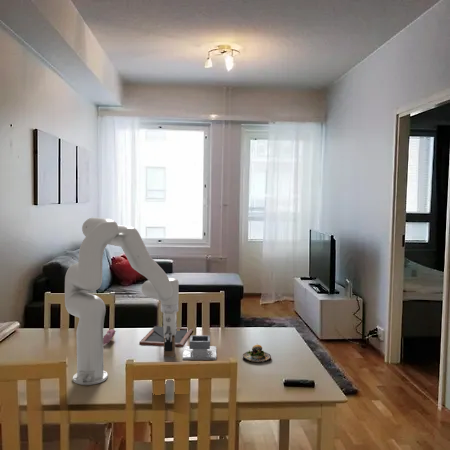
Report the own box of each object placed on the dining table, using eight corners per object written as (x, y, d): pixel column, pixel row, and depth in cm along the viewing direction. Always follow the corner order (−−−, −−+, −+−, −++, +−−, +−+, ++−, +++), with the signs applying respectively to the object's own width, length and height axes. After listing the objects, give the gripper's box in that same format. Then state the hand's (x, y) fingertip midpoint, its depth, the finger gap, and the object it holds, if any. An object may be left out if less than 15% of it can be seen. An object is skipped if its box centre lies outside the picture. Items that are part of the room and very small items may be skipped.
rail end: (174, 356, 203) (174, 337, 203) (163, 356, 203) (163, 337, 202) (175, 352, 208) (175, 334, 207) (164, 352, 207) (164, 334, 207)
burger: (238, 361, 198) (238, 344, 198) (248, 353, 209) (248, 336, 209) (265, 366, 194) (266, 348, 193) (274, 357, 204) (275, 340, 204)
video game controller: (106, 349, 216) (113, 335, 215) (97, 344, 215) (104, 331, 215) (112, 342, 225) (118, 329, 225) (103, 337, 225) (109, 324, 225)
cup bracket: (216, 359, 200) (216, 343, 199) (182, 359, 199) (182, 343, 199) (216, 348, 214) (216, 333, 213) (184, 348, 213) (184, 333, 213)
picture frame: (154, 329, 243) (139, 345, 218) (154, 325, 243) (139, 341, 218) (193, 331, 240) (182, 348, 216) (193, 327, 240) (182, 343, 215)
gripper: (176, 312, 195) (176, 354, 196) (179, 302, 212) (179, 340, 214) (158, 312, 195) (158, 354, 196) (162, 302, 212) (162, 340, 214)
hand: (169, 347), depth 205 cm, fingers open, 9 cm apart
